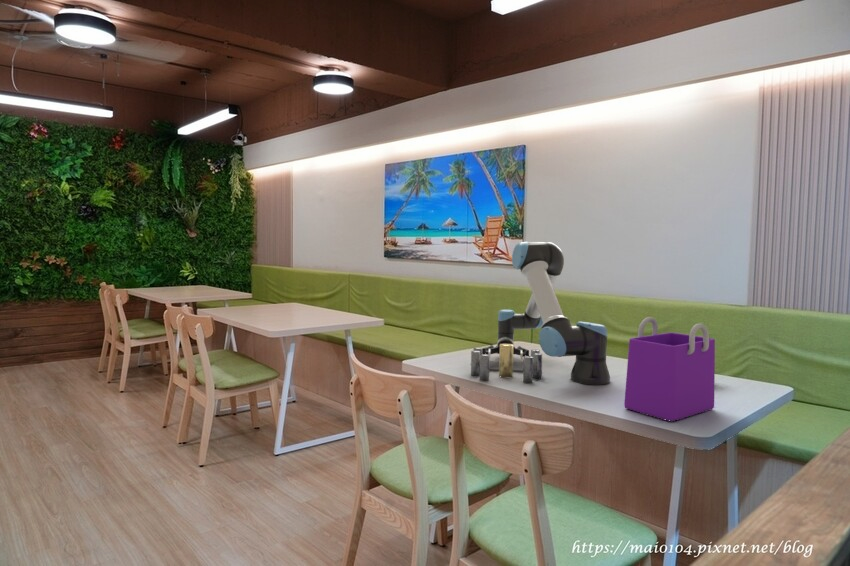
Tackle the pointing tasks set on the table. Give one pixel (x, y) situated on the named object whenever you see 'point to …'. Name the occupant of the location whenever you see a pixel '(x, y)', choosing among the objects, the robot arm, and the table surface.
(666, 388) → the shopping bag
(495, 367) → the mat
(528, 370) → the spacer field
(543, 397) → the table surface
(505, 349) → the brass canister
